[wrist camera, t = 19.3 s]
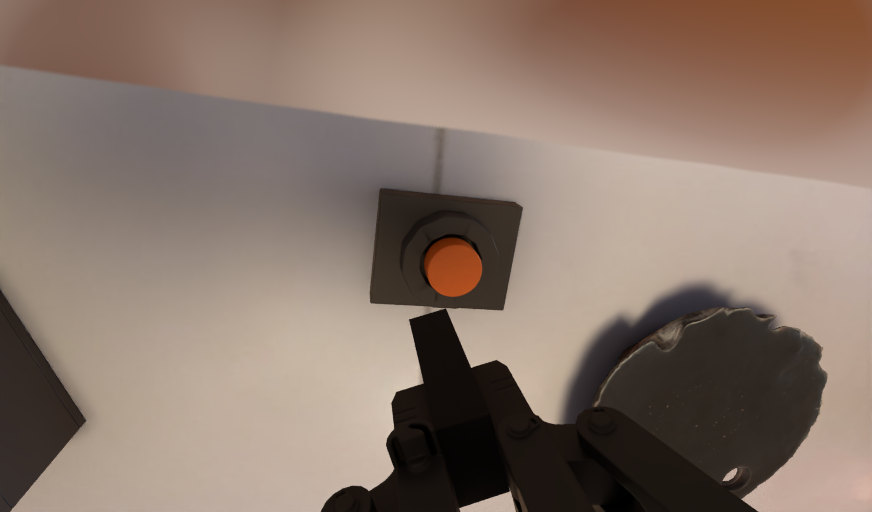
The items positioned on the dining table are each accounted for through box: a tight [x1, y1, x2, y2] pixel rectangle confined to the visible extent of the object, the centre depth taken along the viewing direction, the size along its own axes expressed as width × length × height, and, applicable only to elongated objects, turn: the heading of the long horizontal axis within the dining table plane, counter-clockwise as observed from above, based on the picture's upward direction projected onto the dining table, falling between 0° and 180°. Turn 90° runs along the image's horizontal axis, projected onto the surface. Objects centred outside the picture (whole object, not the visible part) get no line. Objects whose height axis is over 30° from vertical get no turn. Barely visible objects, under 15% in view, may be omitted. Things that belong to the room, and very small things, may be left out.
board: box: [591, 307, 827, 499], centre depth 40 cm, size 22×22×5 cm
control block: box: [370, 189, 523, 310], centre depth 33 cm, size 10×8×4 cm
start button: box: [424, 237, 482, 297], centre depth 31 cm, size 4×4×2 cm
